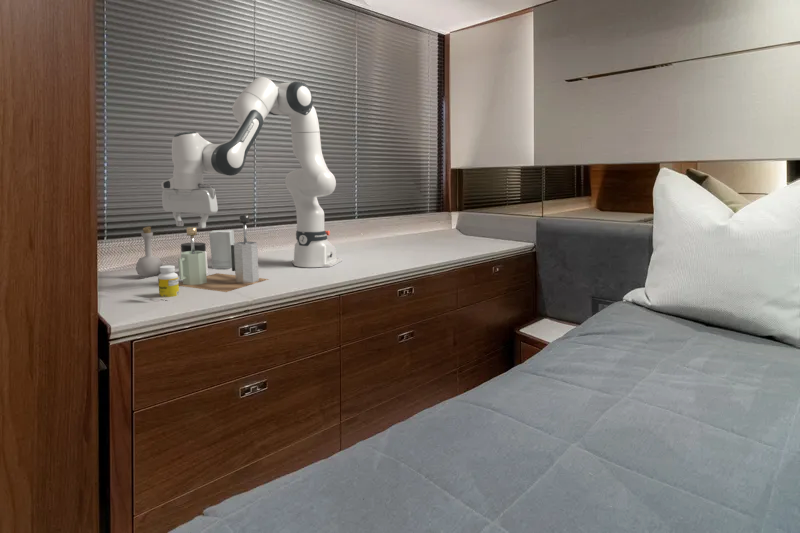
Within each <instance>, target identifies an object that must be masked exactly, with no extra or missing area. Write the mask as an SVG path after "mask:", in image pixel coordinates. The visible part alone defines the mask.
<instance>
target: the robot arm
mask: <svg viewBox="0 0 800 533" xmlns="http://www.w3.org/2000/svg"><path fill="white" fill-rule="evenodd" d="M313 101H314V100H313V94H312V91H311V89H310V87H309V85H307V84H306V83H305V82H302V81H291V82H290V81H289V82H281V83H279V84H275V82H273V81H272V80H271V79H270V78H267V77H265V76H259V77H257V78H255V79H253V81H251V82H250V83H249V84H248V85H247V86H246V87H245V88H244V89H243V90H242V91H241V93H240V94H239V95H238V96H237V97H236V99H235V100H234V102H233V105H232V114H233V117H234V119H235V120H236V121H237V123H239V126H238V128H237V129H236V131H235V133H234V134H233V136H232V137H231V138H230V139H229V140H228V141H226V142H222V143H213V142H210V141H208V140H207V139H205V138H204V137H203V136H201V135H200V134H199V132H197V131H185V132H178V133H175V134H174V135H173V137H172V141H171V160H172V164H173V172H172V177H171V178H169V179H167V180H164V181H162V182H161V185H160V186H161V189H163V190H162V192H161V202H162V204H161V205H162V209H163V210H164V212H165V213H166V212H168V213H172V217H173V219H174V220H175V226H176V227H184V225H185V224H184V220H182V217H181V215H182V214H183V213H184V214H185V213H186V214H199V217H200V221H198V223H197V224H198V228H201V229H206V228H207V221H208V219H209V215H215V214H217V213H218V211H219V207H218V206H219V205H218V200H217V196H216V190H215V188H214V187H213V186H212V184H204V173H205V174H208V175H209V174H212V175H224V176H229V177H230V176H236V175H237V174H239V173H240V172H242V170H243V168H244V166H245V163H246V160H247V156H248V152H249V151H250V149H251V147H252V146H253V144H254V142H255V140H256V139H257V137H258V135H259V133H260V131H261V130H262V128H263V124H264V120H265V119H266V117H267V116H268V115H273V116H283V115H284V116H286V115H287V116H288V118H289V119H290V131H291V132H290V133H291V134H290V135H291V142H292V144H291V146H292V152H293V155H294V157H296V159H297V160H298V163H299V164H300V167H301V168H297V169H294V170H292V171H289V172H288V173H287V174H286V176H285V180H284V183H285V184H284V185H285V187H286V190H287V191H288V192H289V193H290V195H291V198H292V201H293V203H294V207H295V213H296V214H295V215H296V231H295V238H296V242H295V243H294V249H293V250H294V251H293V260H292V261H291V264H293V266H295V267H298V268H323V267H325V268H328V267H329V268H330V267H333V266H335V265H337V264H339V263H341V262H342V261H343V258H341V257H337V249H336V246H334V245H333V244H332V243H331V242H330V241H329V240H328V236H330V230H325V227H326V226H325V212H324V209H323V208H322V207H321V205H320V203H319V200H318V198H323V197H327V196H329V195H331V194H333V193H334V192H335V189H336V186H337V181H336V177H335V175H334V174H333V173H332V172H331V171H330V169H329V168H328V165H327V164H326V161H325V158H324V155H323V151H322V141H321V132H320V122H319V119H318V114H317V110H316V108H315V106H314V105H313Z"/></svg>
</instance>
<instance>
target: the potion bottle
mask: <svg viewBox="0 0 800 533" xmlns="http://www.w3.org/2000/svg"><path fill="white" fill-rule="evenodd" d="M140 234H141V238H142V239H143V240H144V241H143V243H144V244H143V245H144V255H145V256H143V257H142V256H141V257H139V258H138V260H137V262H136V265H135V270H136V273H137V275H139V278H140V279H142V280H144V279H147V278H154V277H158V275H159V274H161V272H160V267H161V266H164V265H163V262H162V260H161V259H160V257H159V256H154V255H153V250H152V249H153V247H152V238H153V236H154V232H153V231H152V227H151V226H145V227H143V228H142V232H141V233H140Z"/></svg>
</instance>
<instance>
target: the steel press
mask: <svg viewBox="0 0 800 533" xmlns="http://www.w3.org/2000/svg"><path fill="white" fill-rule="evenodd" d="M258 252H259V251H258V243H257V241H248V240H247V244H244V241H237V242H236V241H235V243H234V245H231V260H232V268H231V271H232V272H235V273H234V275H235V278H236V283H241V284H247V283H255V282H258V281H259V278H260V277H259V276H260V275H259V256H258V255H259V253H258ZM255 284H256V283H255Z"/></svg>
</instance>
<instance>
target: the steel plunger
mask: <svg viewBox="0 0 800 533" xmlns="http://www.w3.org/2000/svg"><path fill="white" fill-rule="evenodd" d="M248 223H250V215H249V214H240V215H239V224H242V228H243V229H242V230H243V231H242V232H243V242H244V244H247V241H248V234H247V230H248V229H247V224H248Z"/></svg>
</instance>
